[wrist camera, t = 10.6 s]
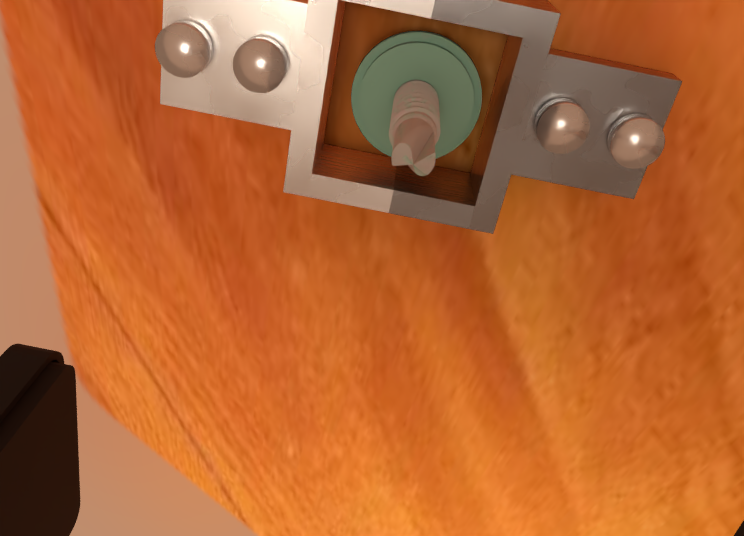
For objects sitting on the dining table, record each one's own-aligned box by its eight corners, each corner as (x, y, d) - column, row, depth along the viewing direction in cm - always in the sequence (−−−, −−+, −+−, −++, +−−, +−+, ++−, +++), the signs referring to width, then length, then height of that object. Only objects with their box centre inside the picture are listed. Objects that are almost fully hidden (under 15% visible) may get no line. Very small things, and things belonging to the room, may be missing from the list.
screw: (338, 47, 28) (457, 2, 27) (380, 158, 30) (492, 121, 29) (303, 113, 20) (470, 54, 19) (364, 257, 22) (517, 212, 21)
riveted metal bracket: (690, 28, 27) (724, 48, 23) (612, 223, 31) (632, 261, 28) (176, -80, 26) (142, -74, 23) (168, 134, 30) (138, 163, 27)
